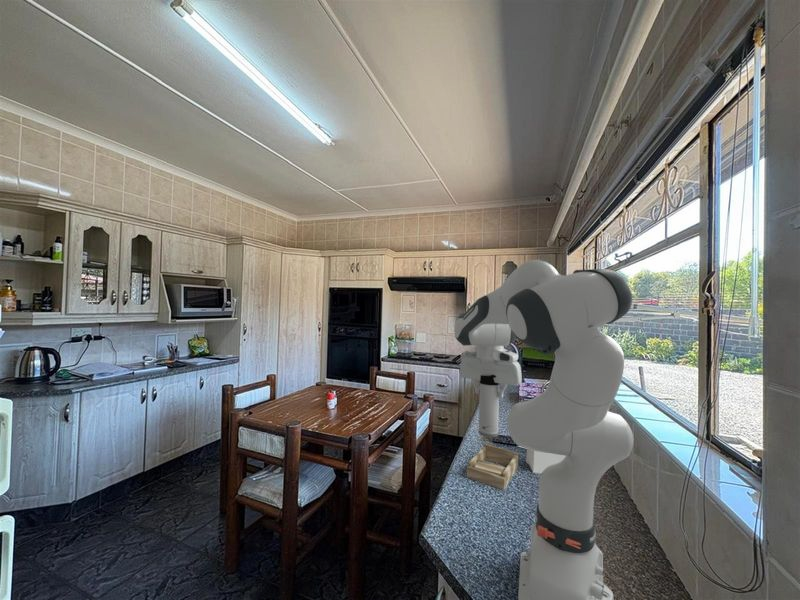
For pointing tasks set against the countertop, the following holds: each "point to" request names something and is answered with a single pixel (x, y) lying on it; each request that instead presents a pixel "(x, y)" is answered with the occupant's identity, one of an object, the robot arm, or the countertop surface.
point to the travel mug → (488, 407)
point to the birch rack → (499, 457)
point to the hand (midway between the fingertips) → (488, 395)
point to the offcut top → (490, 468)
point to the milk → (541, 460)
